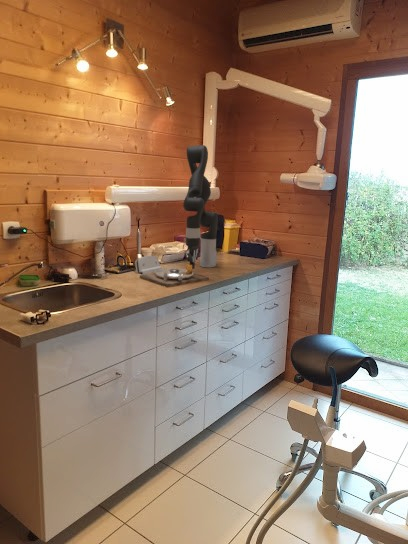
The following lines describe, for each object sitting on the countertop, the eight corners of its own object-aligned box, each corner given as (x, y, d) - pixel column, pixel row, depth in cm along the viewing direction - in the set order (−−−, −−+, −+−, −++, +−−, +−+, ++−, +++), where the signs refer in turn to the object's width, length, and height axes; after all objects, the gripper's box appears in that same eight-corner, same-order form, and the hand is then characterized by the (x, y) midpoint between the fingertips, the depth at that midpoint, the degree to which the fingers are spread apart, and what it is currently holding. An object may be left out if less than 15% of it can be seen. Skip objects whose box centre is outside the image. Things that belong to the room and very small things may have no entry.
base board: (180, 271, 243) (180, 261, 241) (209, 279, 225) (209, 268, 224) (139, 277, 224) (139, 266, 223) (167, 287, 207) (167, 275, 206)
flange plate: (191, 270, 235) (191, 259, 234) (195, 280, 213) (196, 267, 212) (155, 270, 233) (155, 258, 231) (155, 280, 211) (156, 267, 209)
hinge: (142, 274, 232) (138, 256, 232) (137, 276, 235) (132, 258, 235) (163, 270, 245) (159, 253, 245) (157, 271, 248) (153, 255, 248)
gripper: (193, 234, 227) (192, 265, 231) (180, 237, 216) (179, 270, 220) (205, 235, 224) (204, 267, 228) (192, 238, 212) (191, 272, 217)
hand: (192, 268), depth 224 cm, fingers closed
